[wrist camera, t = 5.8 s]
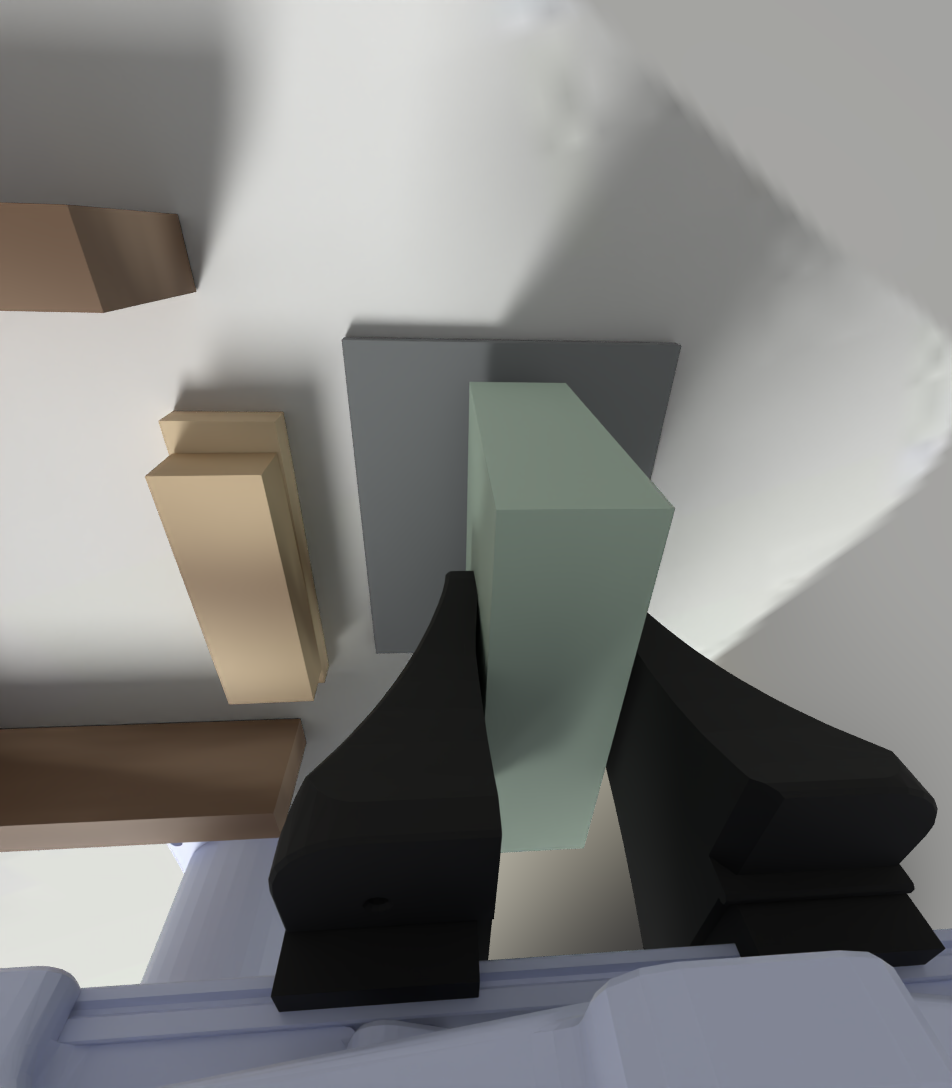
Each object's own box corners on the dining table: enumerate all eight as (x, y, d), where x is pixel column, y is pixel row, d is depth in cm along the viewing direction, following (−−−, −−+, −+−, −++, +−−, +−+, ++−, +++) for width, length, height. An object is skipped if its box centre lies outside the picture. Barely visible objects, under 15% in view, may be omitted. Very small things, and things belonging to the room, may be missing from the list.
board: (534, 641, 18) (583, 848, 12) (464, 643, 17) (477, 853, 11) (565, 383, 13) (675, 508, 7) (469, 381, 13) (496, 510, 7)
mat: (608, 640, 19) (611, 647, 19) (377, 645, 19) (376, 653, 18) (675, 343, 14) (681, 345, 13) (344, 337, 13) (341, 339, 13)
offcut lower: (331, 654, 20) (324, 682, 19) (254, 656, 20) (242, 685, 18) (289, 405, 15) (275, 421, 13) (183, 404, 14) (158, 420, 13)
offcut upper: (321, 668, 18) (313, 700, 17) (243, 671, 18) (229, 704, 17) (277, 452, 14) (260, 475, 12) (172, 453, 13) (144, 476, 12)
